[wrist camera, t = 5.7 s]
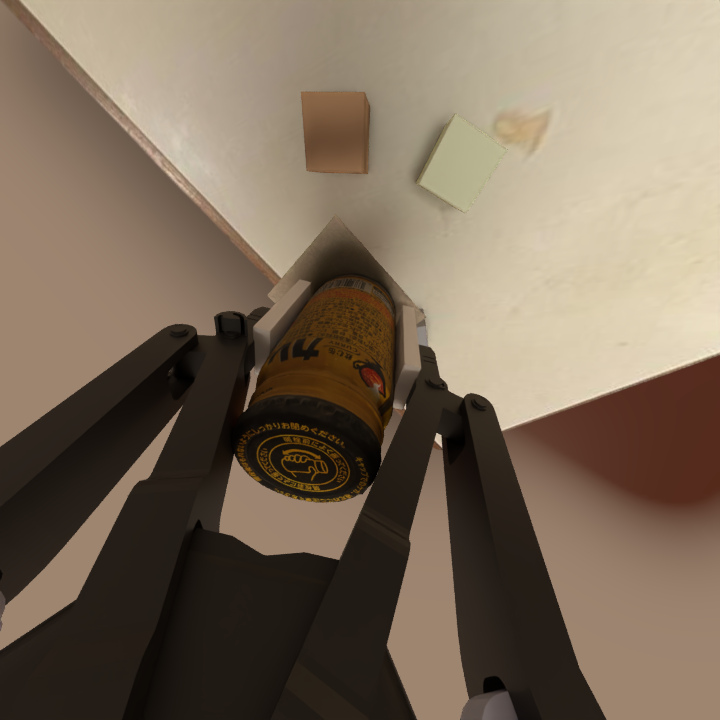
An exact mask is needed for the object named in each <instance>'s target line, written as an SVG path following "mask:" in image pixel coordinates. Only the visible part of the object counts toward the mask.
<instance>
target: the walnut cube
mask: <svg viewBox="0 0 720 720" xmlns="http://www.w3.org/2000/svg"><path fill="white" fill-rule="evenodd" d="M301 98H302V112H303V126H304V139H305V153H306V167H307V171H312V172H324V173H357V174H368V152H369V124H370V105H369V103H368V100H367V97H366V94H365V92H301Z"/></svg>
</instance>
